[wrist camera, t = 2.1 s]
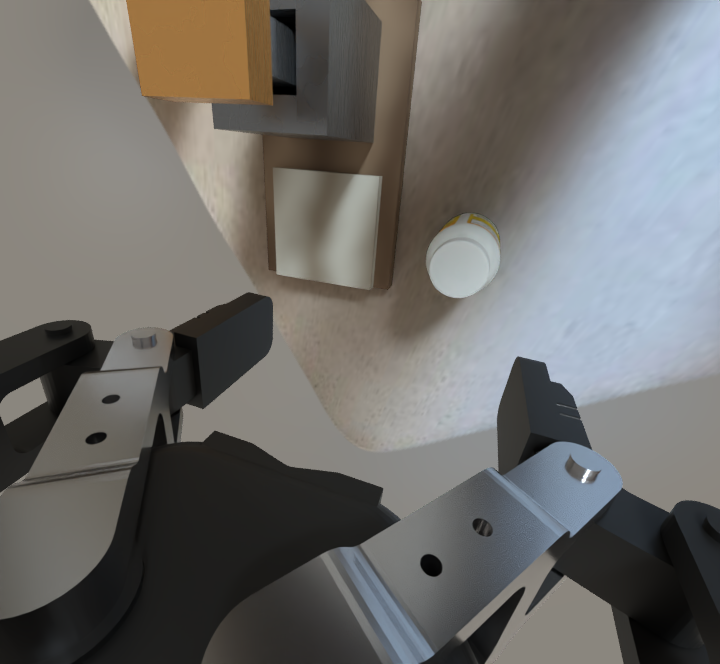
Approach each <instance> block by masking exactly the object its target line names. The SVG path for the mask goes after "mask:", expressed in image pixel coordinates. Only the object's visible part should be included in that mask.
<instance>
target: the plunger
mask: <svg viewBox="0 0 720 664" xmlns="http://www.w3.org/2000/svg"><path fill="white" fill-rule="evenodd" d="M126 2H127V8H128V14H129V20H130V26H131V32H132V38H133V44H134V50H135V56H136V62H137V68H138V74H139V81H140V87H141V93H142V96H146V97H151V98H156V99H162V100H167V101H172V102H195V103H221V104H247V105H272V106H273V89H275V90H278V91H281V92H284V93H287V94H290V95H297V91H296V33H295V32H294V31H292V30H291V29H289V28H288V27H286V26H285V25H283V24H282V23H280V22H279V21H277V20H276V19H274V18H273V17H271V16H270V0H126Z"/></svg>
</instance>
